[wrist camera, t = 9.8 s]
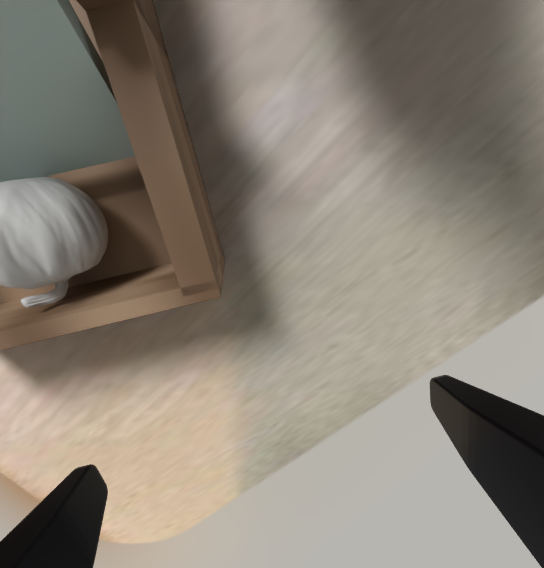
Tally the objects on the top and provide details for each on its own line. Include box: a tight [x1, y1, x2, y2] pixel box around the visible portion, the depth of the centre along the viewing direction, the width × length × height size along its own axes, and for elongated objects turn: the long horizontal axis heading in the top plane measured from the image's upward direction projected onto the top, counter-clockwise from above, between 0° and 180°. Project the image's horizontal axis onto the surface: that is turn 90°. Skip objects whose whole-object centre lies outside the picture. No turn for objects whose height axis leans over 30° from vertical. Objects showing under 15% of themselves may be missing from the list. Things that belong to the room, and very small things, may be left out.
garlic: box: [0, 177, 108, 308], centre depth 14 cm, size 6×5×5 cm
